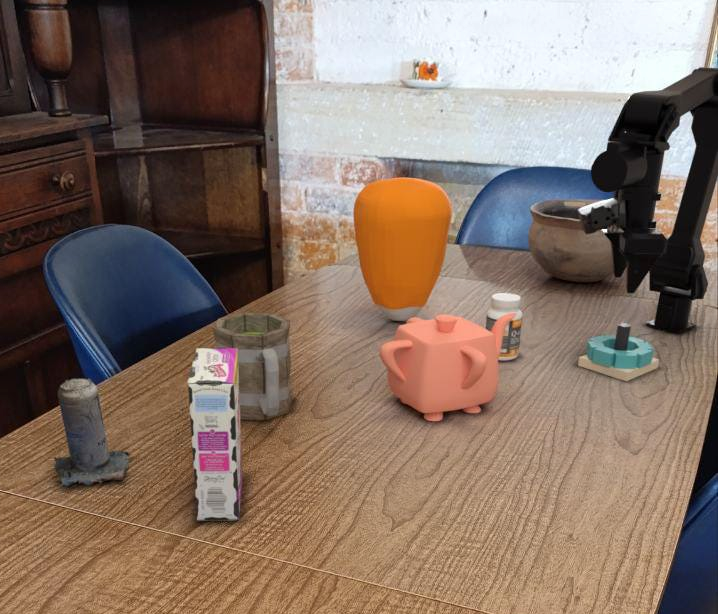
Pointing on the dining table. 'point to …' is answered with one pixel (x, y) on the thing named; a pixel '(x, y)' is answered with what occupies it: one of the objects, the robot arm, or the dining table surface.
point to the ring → (619, 352)
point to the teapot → (444, 364)
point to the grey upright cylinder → (86, 437)
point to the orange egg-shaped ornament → (401, 242)
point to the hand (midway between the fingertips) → (623, 284)
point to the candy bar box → (216, 433)
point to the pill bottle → (512, 333)
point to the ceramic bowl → (568, 242)
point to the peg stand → (622, 345)
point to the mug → (259, 361)
